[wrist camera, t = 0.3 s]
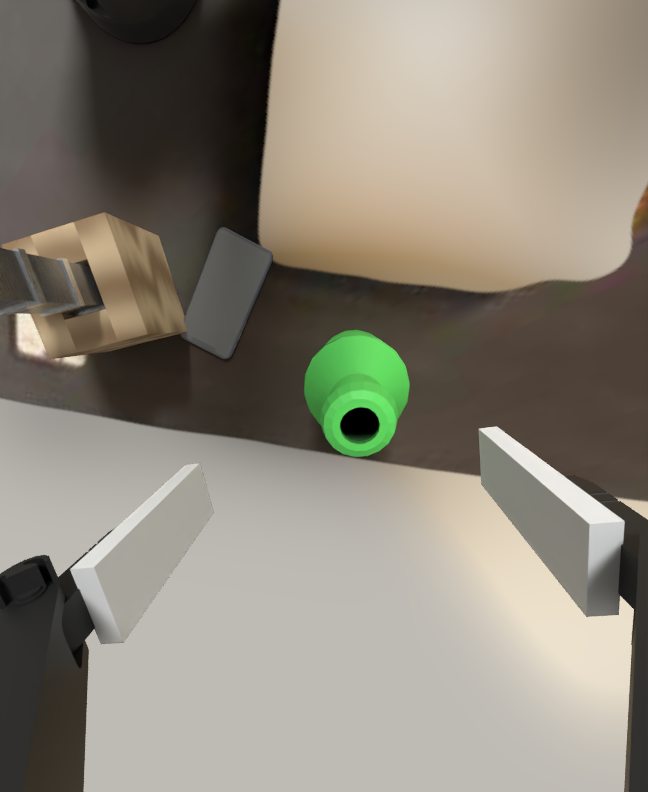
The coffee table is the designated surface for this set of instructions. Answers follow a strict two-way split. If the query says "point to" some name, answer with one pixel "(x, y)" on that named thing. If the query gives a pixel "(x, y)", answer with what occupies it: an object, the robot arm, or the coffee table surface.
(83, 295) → the column
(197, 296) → the smartphone
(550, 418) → the coffee table surface
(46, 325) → the housing
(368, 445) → the bottle
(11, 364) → the coffee table surface
